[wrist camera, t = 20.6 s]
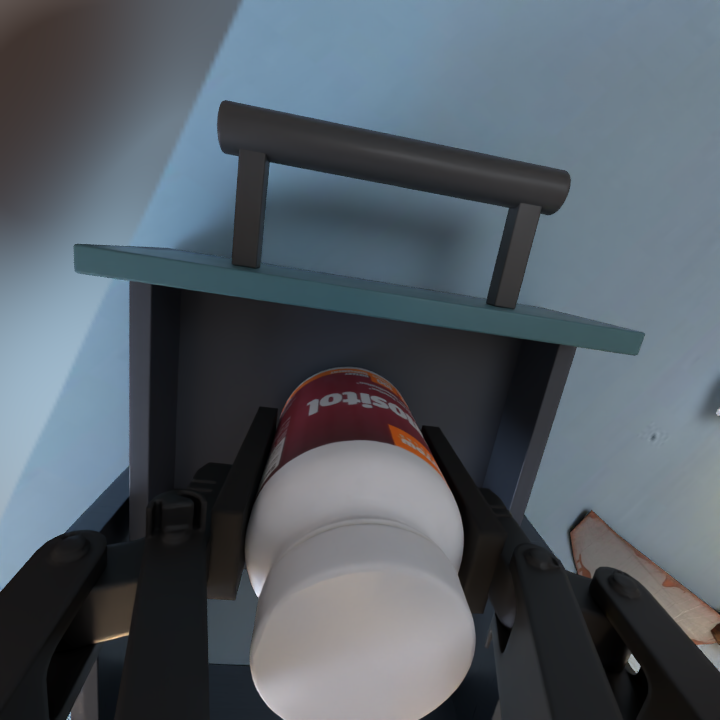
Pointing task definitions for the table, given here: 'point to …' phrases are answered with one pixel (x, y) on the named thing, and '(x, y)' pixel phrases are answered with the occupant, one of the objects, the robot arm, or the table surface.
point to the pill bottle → (355, 560)
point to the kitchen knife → (642, 577)
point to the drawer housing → (234, 683)
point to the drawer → (344, 318)
